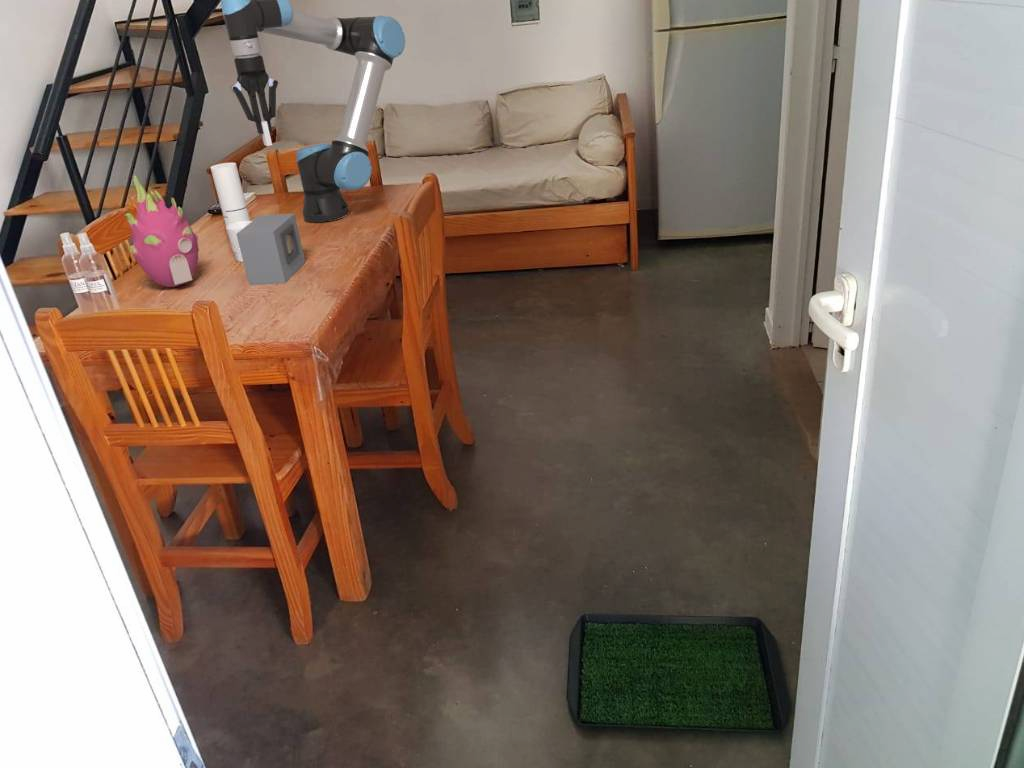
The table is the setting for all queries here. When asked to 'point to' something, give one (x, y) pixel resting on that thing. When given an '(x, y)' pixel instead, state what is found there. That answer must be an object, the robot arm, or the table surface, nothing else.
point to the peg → (289, 243)
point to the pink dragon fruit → (162, 239)
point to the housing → (270, 249)
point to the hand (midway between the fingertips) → (268, 144)
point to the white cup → (232, 231)
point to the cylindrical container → (230, 193)
